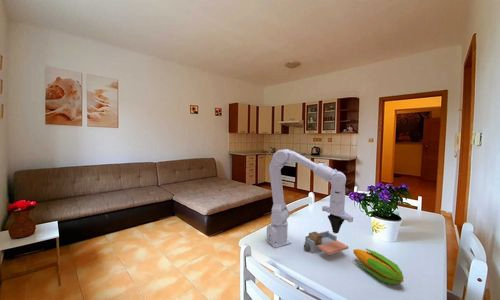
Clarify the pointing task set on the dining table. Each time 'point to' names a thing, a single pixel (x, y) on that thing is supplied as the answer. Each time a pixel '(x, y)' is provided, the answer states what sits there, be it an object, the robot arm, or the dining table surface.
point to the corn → (379, 266)
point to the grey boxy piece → (326, 238)
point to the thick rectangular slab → (333, 247)
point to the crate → (316, 237)
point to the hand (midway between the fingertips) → (335, 232)
